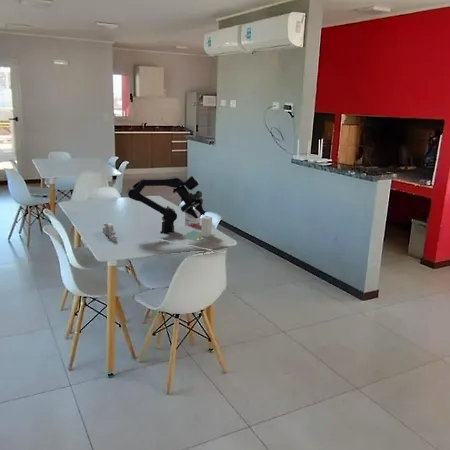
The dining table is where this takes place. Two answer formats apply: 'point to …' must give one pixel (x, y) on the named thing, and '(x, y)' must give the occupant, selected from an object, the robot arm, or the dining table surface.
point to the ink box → (192, 219)
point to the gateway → (109, 231)
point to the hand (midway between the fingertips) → (200, 216)
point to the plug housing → (206, 226)
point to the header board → (196, 236)
